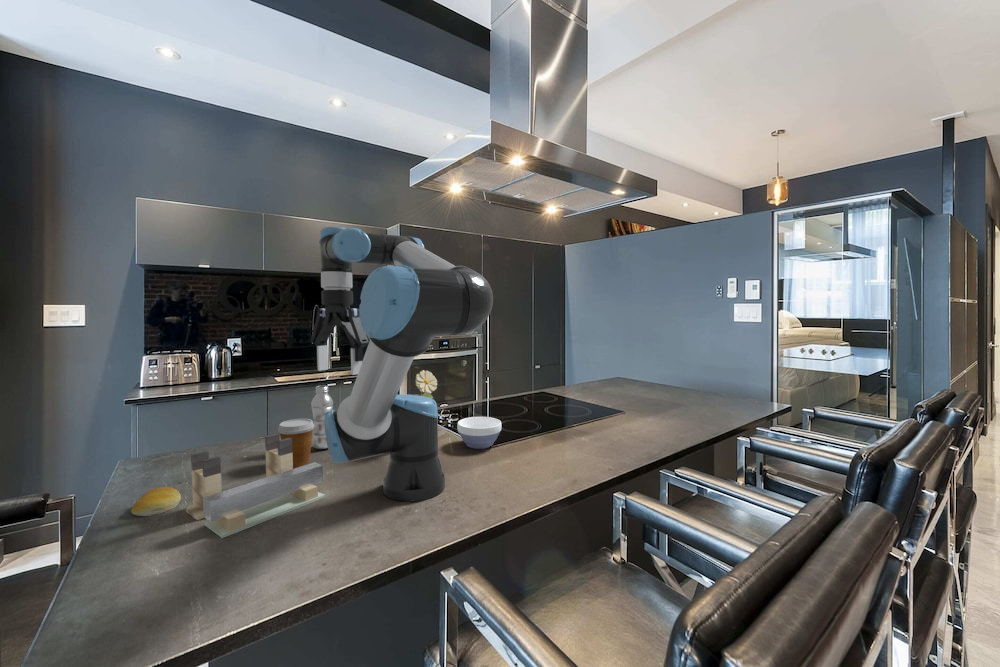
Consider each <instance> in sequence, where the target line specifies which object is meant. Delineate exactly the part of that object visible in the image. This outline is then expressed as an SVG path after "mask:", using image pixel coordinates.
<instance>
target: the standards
mask: <svg viewBox="0 0 1000 667" xmlns="http://www.w3.org/2000/svg"><path fill="white" fill-rule="evenodd" d="M264 440H265V442H264V444H265V445H264V448H265V476H266V477H270V476H273V475H276V474H279V473H282V472H285V471H288V470H292V469H294V467H293V452H292V438H287V439H283V440H281V437H280V433H274V434H269V435H265V436H264ZM190 463H191V464H190V465H191V485H192V486H191V488H192V505H191V506H188V507H186V513H187V514H189V516H191V517H192V518H193V519H195V520H197V521H200V520H203V519H205V518H204V513H203V498H204V497H207V496H210V495H213V494H216V493H219V492H222V491H223V490H222V489H223V488H222V470H221V467H222V466H221V463H222V462H221V457H220V456H219V455H216V456H213V457H210V455H209V451H208V450H203V451H199V452H194V453H192V454H190ZM266 477H265V478H266Z"/></svg>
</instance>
